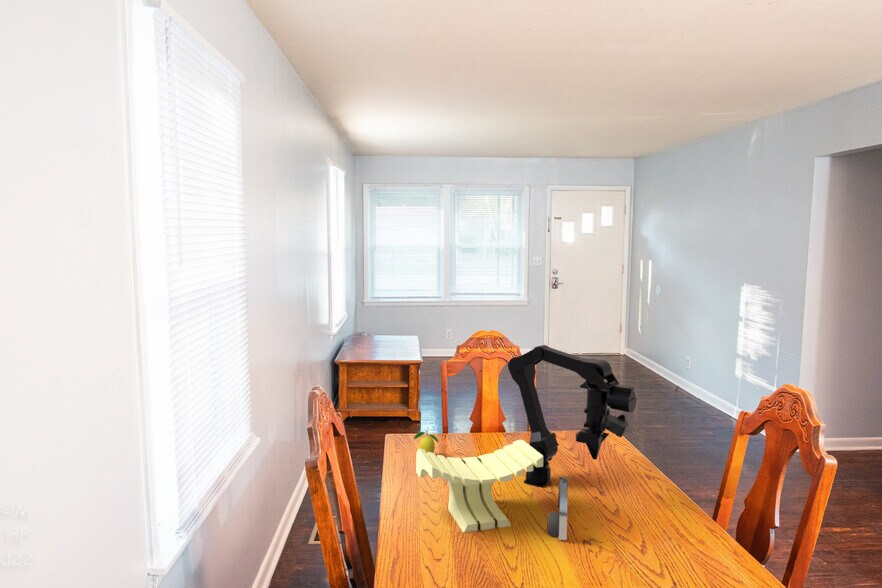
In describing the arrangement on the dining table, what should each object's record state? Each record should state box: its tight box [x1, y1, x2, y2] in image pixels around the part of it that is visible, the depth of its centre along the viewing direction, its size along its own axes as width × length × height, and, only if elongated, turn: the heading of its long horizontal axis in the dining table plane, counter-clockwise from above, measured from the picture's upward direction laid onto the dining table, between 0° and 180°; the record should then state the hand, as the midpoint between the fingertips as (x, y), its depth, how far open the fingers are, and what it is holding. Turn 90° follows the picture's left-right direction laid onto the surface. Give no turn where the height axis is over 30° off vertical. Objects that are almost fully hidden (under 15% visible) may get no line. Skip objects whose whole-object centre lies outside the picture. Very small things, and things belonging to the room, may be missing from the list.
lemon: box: [413, 430, 439, 454], centre depth 192 cm, size 7×6×10 cm
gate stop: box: [547, 511, 560, 538], centre depth 142 cm, size 3×3×5 cm
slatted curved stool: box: [415, 439, 543, 533], centre depth 151 cm, size 30×16×18 cm, turn 107°
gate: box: [558, 483, 568, 541], centre depth 147 cm, size 18×2×7 cm, turn 168°
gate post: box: [557, 476, 569, 509], centre depth 157 cm, size 2×2×8 cm
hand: (594, 459), depth 161 cm, fingers closed
